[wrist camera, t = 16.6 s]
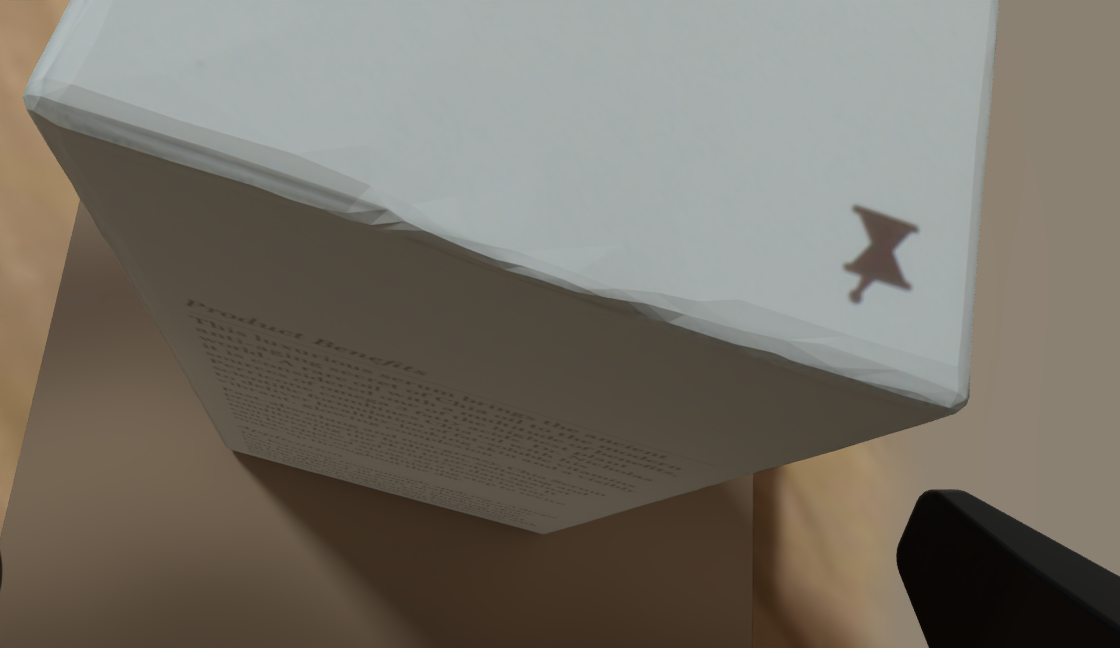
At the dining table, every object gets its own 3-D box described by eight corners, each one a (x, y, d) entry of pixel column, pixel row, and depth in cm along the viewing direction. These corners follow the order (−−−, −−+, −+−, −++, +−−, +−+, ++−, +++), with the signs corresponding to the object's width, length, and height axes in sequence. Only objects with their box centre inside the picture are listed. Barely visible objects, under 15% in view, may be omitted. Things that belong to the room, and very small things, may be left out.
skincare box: (595, 324, 18) (1037, -86, 7) (545, 540, 17) (996, 440, 6) (290, 228, 17) (259, -424, 6) (210, 449, 16) (-17, 118, 5)
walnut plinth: (708, 746, 19) (751, 763, 17) (-5, 720, 16) (-48, 738, 14) (718, 161, 23) (755, 122, 21) (144, 54, 20) (127, -2, 18)
